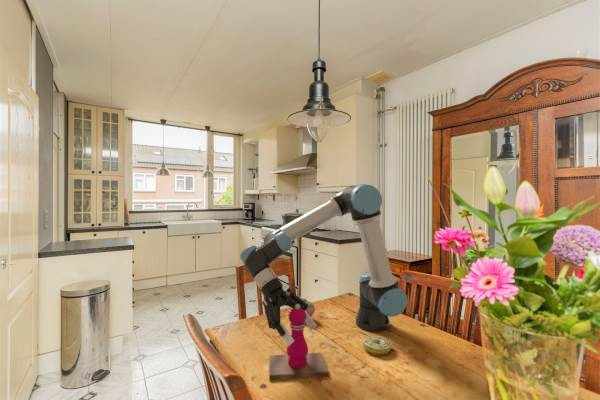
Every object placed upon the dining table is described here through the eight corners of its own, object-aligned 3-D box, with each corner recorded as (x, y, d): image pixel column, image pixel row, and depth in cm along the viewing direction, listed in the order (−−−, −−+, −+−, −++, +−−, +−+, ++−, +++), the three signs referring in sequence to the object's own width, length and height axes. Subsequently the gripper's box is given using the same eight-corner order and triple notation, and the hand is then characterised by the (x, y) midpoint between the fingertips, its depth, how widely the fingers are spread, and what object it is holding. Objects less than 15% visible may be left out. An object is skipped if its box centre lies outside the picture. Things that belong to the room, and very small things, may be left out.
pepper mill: (305, 370, 95) (306, 308, 95) (284, 367, 97) (284, 307, 97) (309, 358, 102) (309, 301, 102) (289, 356, 104) (289, 299, 104)
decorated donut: (396, 349, 112) (396, 339, 112) (383, 360, 104) (383, 350, 104) (372, 340, 119) (372, 331, 119) (358, 350, 111) (358, 340, 111)
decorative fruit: (292, 318, 141) (292, 297, 141) (305, 314, 146) (305, 294, 146) (304, 324, 134) (304, 303, 134) (317, 320, 139) (318, 299, 139)
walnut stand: (321, 356, 106) (321, 352, 106) (328, 376, 94) (328, 371, 94) (269, 359, 104) (269, 355, 104) (269, 380, 92) (269, 375, 92)
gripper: (283, 281, 118) (315, 328, 110) (238, 298, 98) (273, 357, 89) (294, 270, 115) (328, 317, 107) (250, 285, 95) (287, 344, 86)
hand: (303, 335), depth 98 cm, fingers open, 13 cm apart
